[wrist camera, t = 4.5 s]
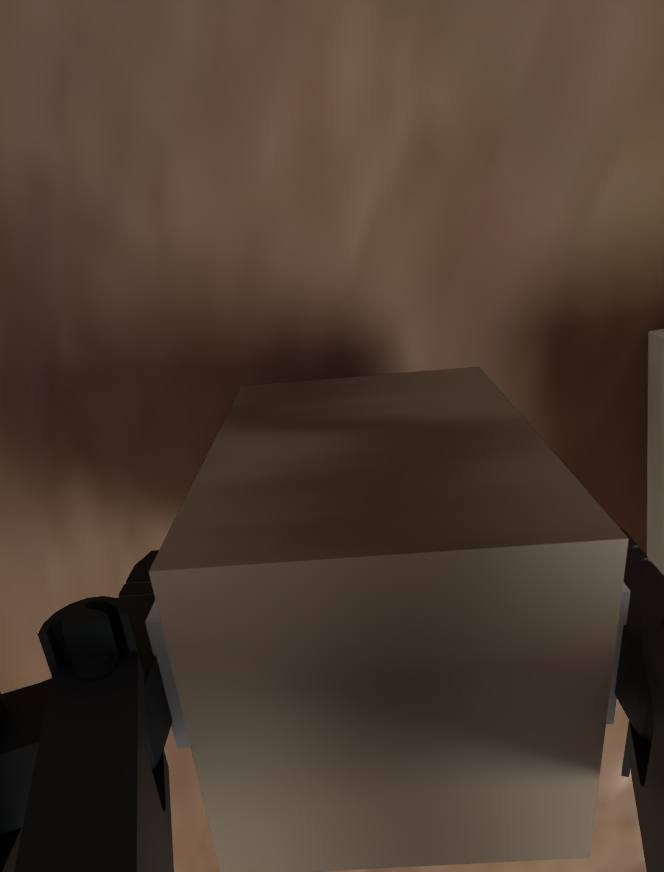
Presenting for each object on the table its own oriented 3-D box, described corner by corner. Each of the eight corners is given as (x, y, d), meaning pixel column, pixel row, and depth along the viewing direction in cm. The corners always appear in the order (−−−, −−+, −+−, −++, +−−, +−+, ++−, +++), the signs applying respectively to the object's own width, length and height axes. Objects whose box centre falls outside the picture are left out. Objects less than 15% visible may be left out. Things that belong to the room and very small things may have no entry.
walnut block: (270, 582, 17) (221, 875, 10) (241, 385, 15) (148, 570, 7) (477, 567, 17) (589, 857, 9) (479, 366, 15) (629, 539, 7)
